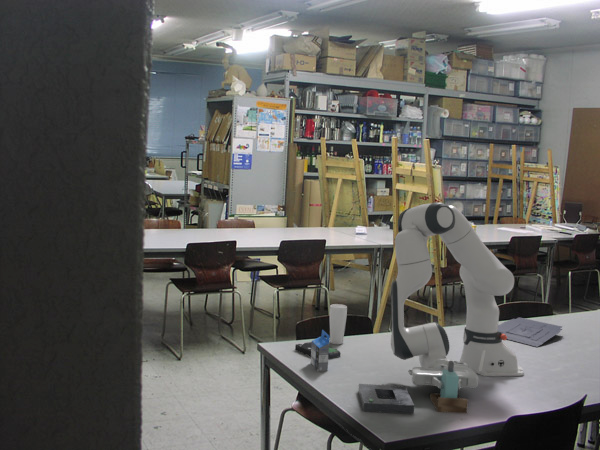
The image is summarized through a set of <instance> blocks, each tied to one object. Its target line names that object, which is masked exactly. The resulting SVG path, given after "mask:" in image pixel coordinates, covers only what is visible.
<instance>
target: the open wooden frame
mask: <svg viewBox="0 0 600 450" xmlns="http://www.w3.org/2000/svg"><path fill="white" fill-rule="evenodd" d="M440 394H441V393H433V392H431V393H430V395H429V397H430V398H431V399H430V400H431V402H432V404H433V406H434V408H435V407H436V408H435V409H436V412H438V413H454V414H455V413H457V414H468V404H469V403H468V402H469V400H468V398H461V396H459V394H457V398H442V397H440Z"/></svg>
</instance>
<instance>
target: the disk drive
mask: <svg viewBox="0 0 600 450" xmlns="http://www.w3.org/2000/svg"><path fill="white" fill-rule="evenodd" d="M311 345H312V341H310V342H304V343H303V344H302V343H298V344H295V349H294V350H295V351H296V352H298V353H301V354H304V355H305V356H307V357H310V358H311ZM340 357H341V351H340V350H339V349H337V348H334V347H332V346H329V354H328V360H330V359H336V358H340Z"/></svg>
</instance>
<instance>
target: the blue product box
mask: <svg viewBox="0 0 600 450" xmlns="http://www.w3.org/2000/svg"><path fill="white" fill-rule="evenodd" d="M311 342H312V345H311V357H310V364H311V366H313V368H314V369H315V370H316V371H317V372H328V371H329V369H328V367H329V359H328V354H329V347H330V334H328V333H327V332H326V331H325V330H324V329H322V330H321V336H319V337H317V338H315V339H313V340H311Z"/></svg>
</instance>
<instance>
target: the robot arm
mask: <svg viewBox="0 0 600 450" xmlns="http://www.w3.org/2000/svg"><path fill="white" fill-rule="evenodd" d="M397 219H398V220H397V232H398V233H397V234H396V236H395V239H394V247H395V249H394V250H395V258H396V265H397V274H396V275H397V276H396V279H395V280H393V281H392V283H391V288H390V289H391V290H390V312H391V313H390V314H391V315H390V316H391V319H390V320H391V335H390V348H391V351H392V353H393V355H394V356H395V357H397V358H399V359H401V360H403V361H404V360H409V359H412V358H414V357H419V358H418V360H419V361H418V362H419V364H420V366H414V367H412V369H409V370H408V371H407V372H408V375H410V376H411V382H412V384H413V385H415V386H435V387H437V388H438V389H441V388H444V382H443V381H442V370H448V363H449V361H453V362H454V369H453V370H454V371H455V372H456V374H457V375H458V376H459V381H458V390H461V388H472V389H473V388H477V387H478V385H479V376H478V375H481V376H483V377H508V376H509V377H510V376H511V377H514V376H515V377H516V376H518V377H519V376H524V374H525V372H524V369H523V367H522V366H520V365H519V364H518V358H517V357H518V356H517V355H516V353H515V352H514V351H513V350H512V349H511V348H510V347H509V346H507V345H506V344H505V343H504V341H507V340H508V339H507V336H506V335H505V334H502V333H501V332H499V331H498V325H499V320H500V319H499V318H500V308H499V306H498V305H497V302H496V299H495V296H497V297H498V296H499V297H501V296H505V295H508V294H509V293H510V292H511V291H513V290H512V289H514V287H515V286H514V285H515V277H514V274H513V273H512V271H511V270H510V269H508V268H507V267H506V266H505V265H504V264H503V263H502V262H501V261H500V259H498V257H496V256H495V254H494V253H493V252H492V251H491V250H490V249H489V248H488V247H487V246H486V245H485V244H484V242H483V241H482V239H481V238H480V236H479V235H478V234H477V232H476V231H475V229H474V228H473V226H472V225H471V223H470V221H469V220H468V219H467V217H466V216H465V215H464V214H463V213H462V212H461V211H460V210H459V209H458V208H457V207H456V206H453V205H450V204H449V205H448V204H446V203H443V202H432V203H423V204H419V205H415V206H414V207H408V208H407V209H404V210H403V211H401V213H399V216H398V218H397ZM437 235H439V237H440V238H441V241H442V242H443V243H444V245H445V246H446V248H447V249H448V250H449V251H448V252H450V254H451V255H452V257H453V258H454V260H455V261H456V262H458V263H459V264H460V266H459V267H460V268H459V277H460V279H461V280H462V283H463V288H464V293H465V300H466V318H465V319H466V320H465V321H466V322H465V327H464V331H463V337H462V338H463V349H462V353H461V356H460V359H459V361H457V360H454V359H453V360H452V359H450V358H448V357H447V356H448V355H449V352H450V341H449V337H448V334H447V332H446V330H445V329H444V327H443V326H442V325H440V323H438V322H435V321H434V322H429V323H423V324H419V325H414V326H410V327H405V318H404V317H405V316H404V315H405V312H404V311H405V309H404V305H405V302H406V300H407V299H408V298H409V297H410V296H411V295H413V294H414V293H416V292H417V291H419V290H420V289H423V287H424V286H426V285H427V284H428V282H429V281H430V280H431V278H432V275H433V266H432V261H431V260H432V259H431V256H430V252H429V248H428V239H429V237H432V236H437Z"/></svg>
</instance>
